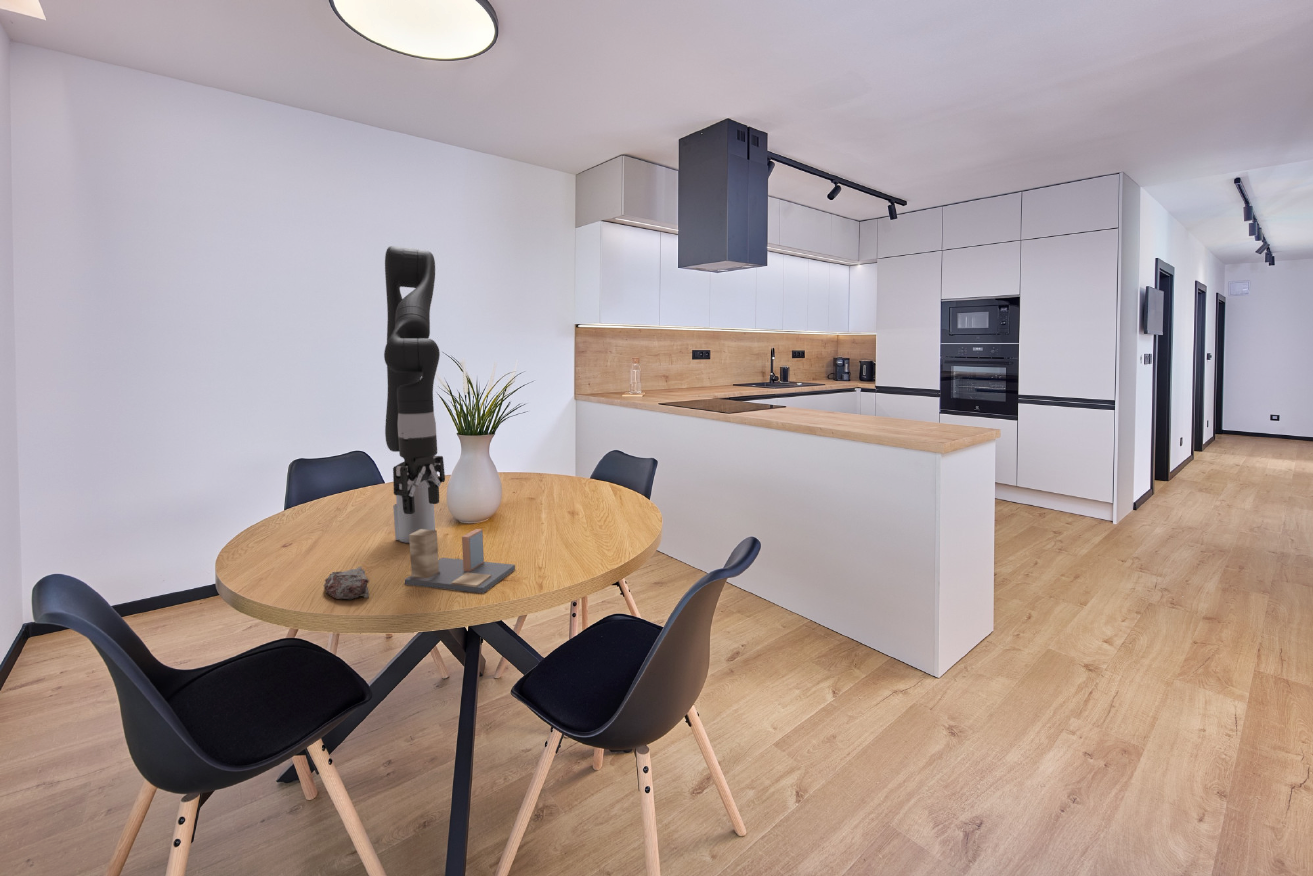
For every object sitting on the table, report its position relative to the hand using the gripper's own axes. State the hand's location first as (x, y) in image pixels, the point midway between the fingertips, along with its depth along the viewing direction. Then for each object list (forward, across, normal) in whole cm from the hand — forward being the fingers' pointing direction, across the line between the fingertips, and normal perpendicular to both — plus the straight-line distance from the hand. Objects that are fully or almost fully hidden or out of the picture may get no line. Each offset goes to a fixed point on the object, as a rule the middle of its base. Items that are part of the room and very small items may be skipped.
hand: (422, 508), depth 129 cm
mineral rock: (+17, +9, -13) cm, 23 cm away
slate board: (+17, -4, +6) cm, 18 cm away
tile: (+15, -8, +7) cm, 19 cm away
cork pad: (+15, 0, +11) cm, 19 cm away
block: (+15, 0, 0) cm, 15 cm away
